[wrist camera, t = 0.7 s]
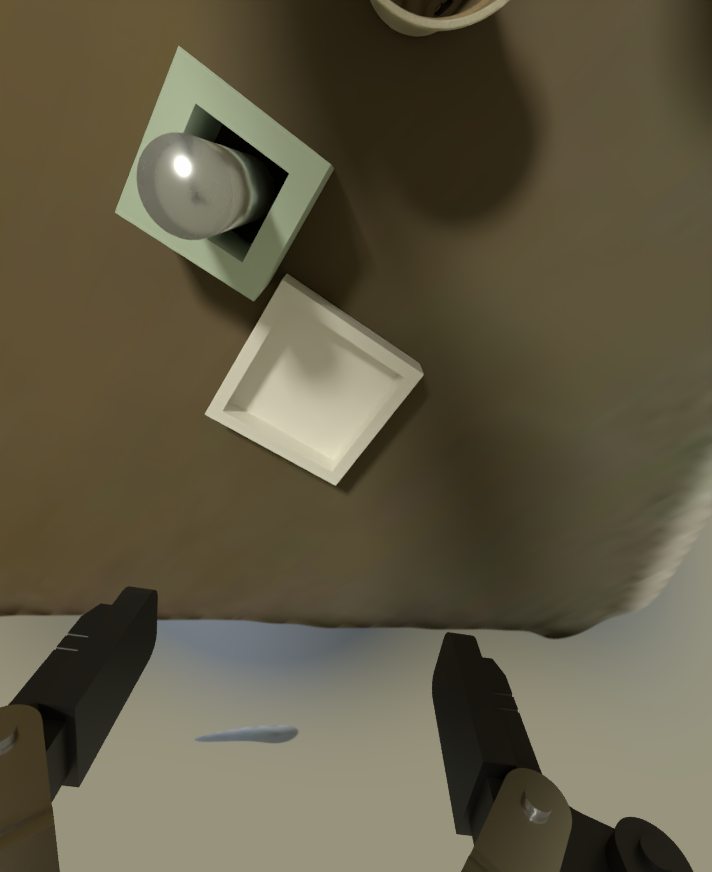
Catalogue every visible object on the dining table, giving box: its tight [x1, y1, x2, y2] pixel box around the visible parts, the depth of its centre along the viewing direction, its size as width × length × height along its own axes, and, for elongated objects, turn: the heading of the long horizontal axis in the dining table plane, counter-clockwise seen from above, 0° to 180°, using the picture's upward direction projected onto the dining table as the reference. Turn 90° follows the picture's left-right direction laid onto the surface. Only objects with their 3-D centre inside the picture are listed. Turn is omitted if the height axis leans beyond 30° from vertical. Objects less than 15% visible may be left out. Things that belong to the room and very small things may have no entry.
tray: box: [205, 274, 424, 486], centre depth 35 cm, size 12×12×2 cm
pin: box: [136, 132, 274, 240], centre depth 24 cm, size 4×4×12 cm
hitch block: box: [115, 46, 334, 301], centre depth 27 cm, size 9×9×6 cm
